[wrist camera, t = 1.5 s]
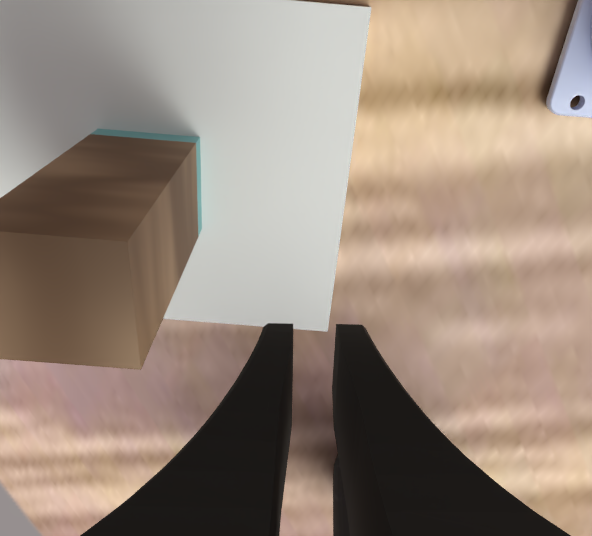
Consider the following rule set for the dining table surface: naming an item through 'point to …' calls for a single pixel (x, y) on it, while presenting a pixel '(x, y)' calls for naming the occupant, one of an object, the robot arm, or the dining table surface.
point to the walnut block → (98, 248)
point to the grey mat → (206, 128)
